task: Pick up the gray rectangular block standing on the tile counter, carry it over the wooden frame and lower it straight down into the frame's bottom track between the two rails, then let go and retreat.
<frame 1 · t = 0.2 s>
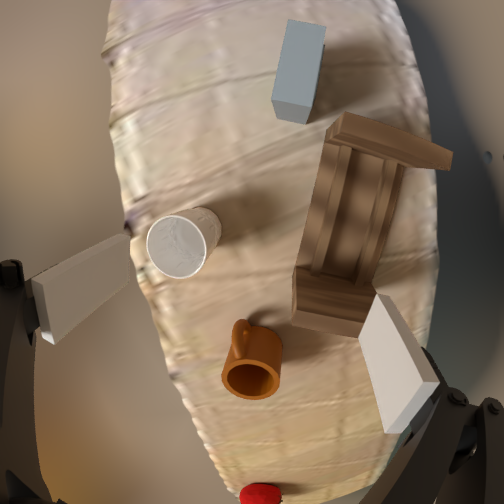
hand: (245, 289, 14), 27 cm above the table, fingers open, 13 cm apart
white cup: (200, 228, 42), on the table
wooden frame: (350, 215, 38), on the table
mug: (256, 339, 47), on the table
tomato: (263, 486, 65), on the table
gray rectangular block: (297, 89, 34), on the table
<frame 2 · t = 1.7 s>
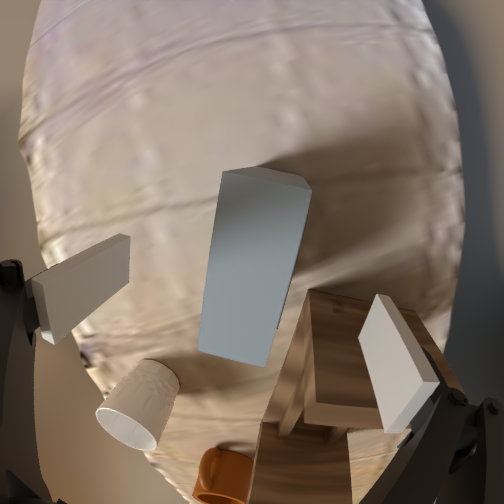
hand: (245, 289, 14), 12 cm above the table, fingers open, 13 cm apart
white cup: (157, 376, 33), on the table
wooden frame: (329, 380, 29), on the table
mug: (227, 456, 38), on the table
gray rectangular block: (267, 226, 25), on the table
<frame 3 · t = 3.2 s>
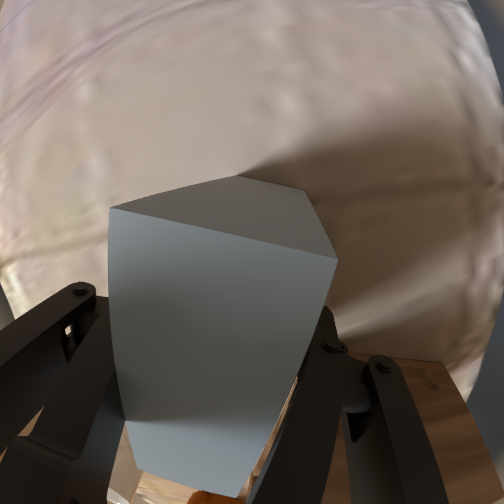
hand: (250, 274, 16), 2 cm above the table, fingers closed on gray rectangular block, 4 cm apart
white cup: (131, 423, 26), on the table
wooden frame: (333, 439, 22), on the table
mug: (216, 497, 30), on the table
gray rectangular block: (252, 263, 17), on the table, touching gripper
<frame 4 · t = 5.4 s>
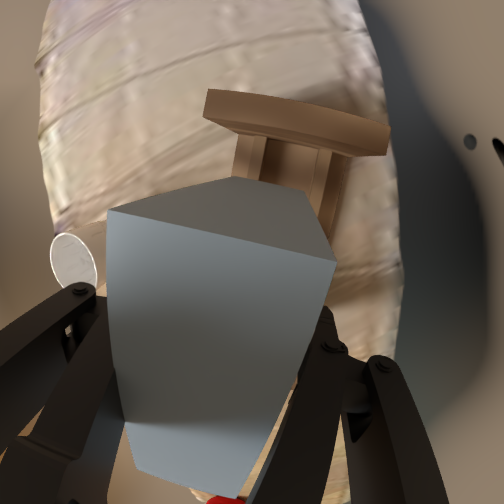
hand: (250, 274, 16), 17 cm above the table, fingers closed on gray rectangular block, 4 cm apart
white cup: (117, 240, 36), on the table
wooden frame: (277, 221, 32), on the table
tomato: (231, 498, 60), on the table
gray rectangular block: (252, 263, 17), point 16 cm above the table, touching gripper
when the fingers open (4 cm above the table, at t = 7.6 s): gray rectangular block drops 1 cm, resting on wooden frame.
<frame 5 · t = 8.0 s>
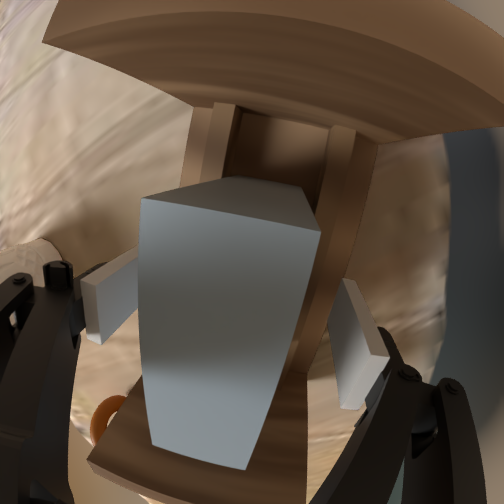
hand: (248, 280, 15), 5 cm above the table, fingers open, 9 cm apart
white cup: (48, 268, 24), on the table
wooden frame: (259, 251, 20), on the table
mug: (147, 416, 28), on the table
gray rectangular block: (255, 255, 19), point 1 cm above the table, touching wooden frame
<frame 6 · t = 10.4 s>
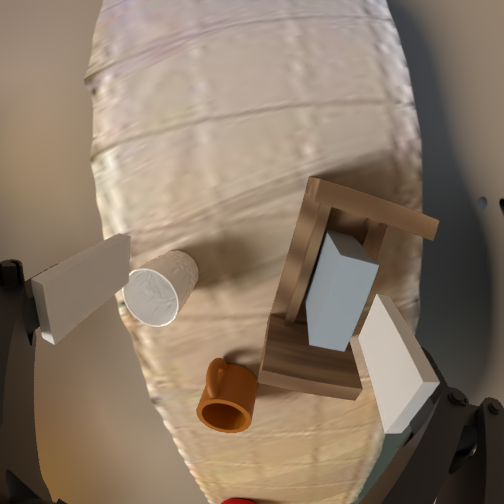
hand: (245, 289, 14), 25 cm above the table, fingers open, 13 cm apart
white cup: (178, 270, 42), on the table
wooden frame: (328, 265, 38), on the table
mug: (232, 374, 46), on the table
tomato: (242, 501, 64), on the table
gray rectangular block: (328, 267, 38), point 1 cm above the table, touching wooden frame
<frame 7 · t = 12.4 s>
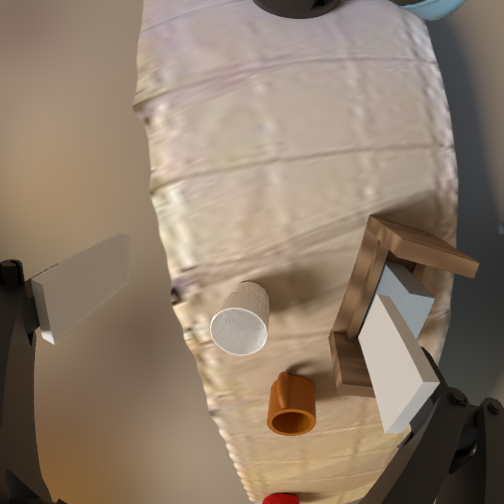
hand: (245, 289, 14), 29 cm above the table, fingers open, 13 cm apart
white cup: (249, 299, 46), on the table
wooden frame: (381, 288, 42), on the table
mug: (292, 384, 51), on the table
tomato: (283, 495, 70), on the table
gray rectangular block: (382, 291, 42), point 1 cm above the table, touching wooden frame
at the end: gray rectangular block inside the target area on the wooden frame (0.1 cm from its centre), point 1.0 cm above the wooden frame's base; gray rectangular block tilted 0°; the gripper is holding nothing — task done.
